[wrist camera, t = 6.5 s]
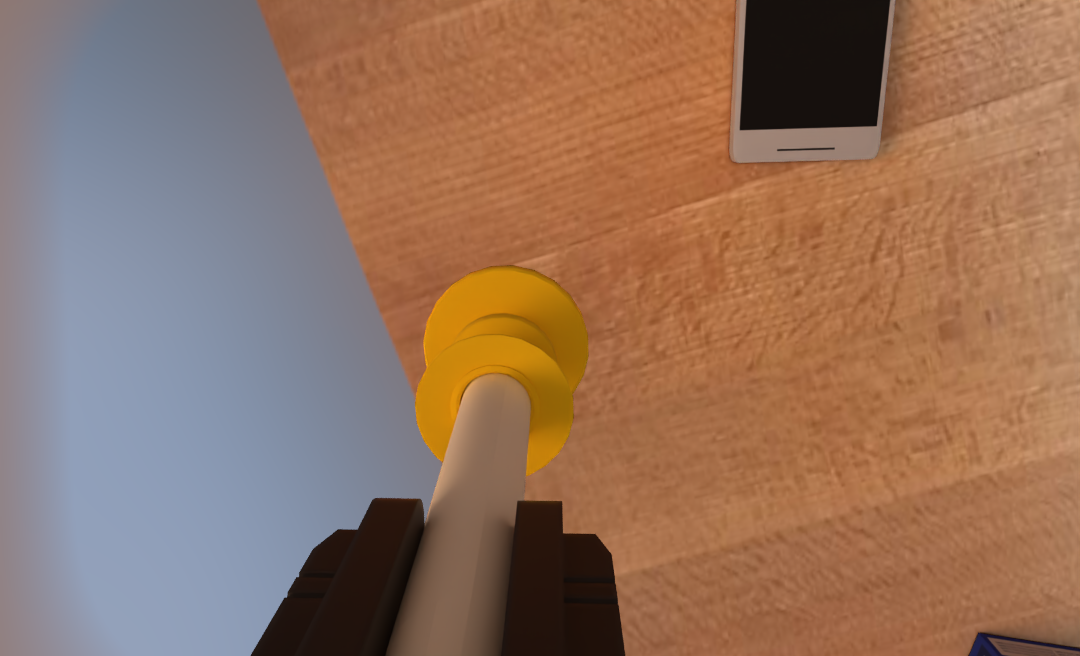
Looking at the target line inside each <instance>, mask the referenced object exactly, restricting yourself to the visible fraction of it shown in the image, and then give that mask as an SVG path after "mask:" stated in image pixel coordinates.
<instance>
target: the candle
mask: <svg viewBox="0 0 1080 656" xmlns="http://www.w3.org/2000/svg"><path fill="white" fill-rule="evenodd" d="M423 342H424V353H425V362H426V365H427V369H426V371H425V373H424V375H423V377H422V379H421V381H420V383H419V385H418V390H417V395H416V401H415V409H416V419H417V424H418V427H419V430H420V432H421V435H422V437H423V440H424V442H425V443H426V444H427V446H428V447H429V448H430V450H431V451H432V452H433V454H434V455H435V456H436V457H437V458H438V459H439V460H440V461H442V462H443V464H442V468H441V471H440V474H439V478H438V481H437V485H436V488H435V491H434V495H433V498H432V501H431V504H430V508H429V511H428V514H427V518H426V521H425V524H424V526H425V527H424V531H423V534H422V537H421V540H420V544H419V547H418V550H417V553H416V556H415V560H414V563H413V566H412V569H411V572H410V576H409V579H408V582H407V585H406V589H405V592H404V595H403V598H402V601H401V605H400V608H399V611H398V614H397V618H396V621H395V624H394V627H393V631H392V634H391V637H390V641H389V644H388V647H387V651H386V655H385V656H501V651H502V642H503V632H504V623H505V613H506V604H507V594H508V585H509V575H510V566H511V556H512V546H513V537H514V527H515V518H516V508H517V501H524V494H525V481H526V476H529V475H530V474H532V473H534V472H536V471H537V470H539V469H541V468H543V467H544V466H546V465H547V464H548V463H549V462H550V461H551V460H552V459H553V458H554V457H555V456H556V455H557V454H558V453H559V452H560V450H561V449H562V447H563V445H564V443H565V442H566V440H567V438H568V437H569V434H570V430H571V426H572V422H573V418H574V413H573V395H572V394H573V393H574V391H575V390H576V388H577V386H578V384H579V383H580V381H581V379H582V377H583V375H584V372H585V368H586V364H587V360H588V333H587V330H586V326H585V323H584V320H583V317H582V313H581V311H580V310H579V308H578V307H577V305H576V303H575V302H574V300H573V299H572V297H571V296H570V294H569V293H568V292H566V291H565V290H564V289H563V288H562V287H561V286H560V285H559V284H558V283H557V282H555V281H554V280H553V279H551V278H549V277H547V276H545V275H543V274H541V273H539V272H537V271H535V270H532V269H527V268H523V267H518V266H514V265H510V266H490V267H487V268H484V269H481V270H477V271H474V272H471V273H469V274H468V275H466V276H464V277H463V278H461V279H460V280H458V281H457V282H455V283H453V284H452V285H451V286H450V287H449V288H448V290H447V291H446V292H445V293H444V294H443V295H442V296H441V297H440V298H439V300H438V301H437V302H436V304H435V307H434V309H433V311H432V313H431V315H430V317H429V319H428V321H427V325H426V331H425V336H424V341H423Z"/></svg>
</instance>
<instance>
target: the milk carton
mask: <svg viewBox="0 0 1080 656" xmlns="http://www.w3.org/2000/svg"><path fill="white" fill-rule="evenodd" d="M969 656H1080V649H1078V648H1072V647H1065V646H1059V645H1053V644H1046V643H1040V642H1033V641H1027V640H1020V639H1014V638H1007V637H1001V636H995V635H988V634H982V633H978V635H977V638H976V640H975V642H974V645H973V647H972V650H971V652H970V654H969Z"/></svg>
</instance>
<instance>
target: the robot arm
mask: <svg viewBox="0 0 1080 656" xmlns="http://www.w3.org/2000/svg"><path fill="white" fill-rule="evenodd" d="M424 527H425V526H424V509H423V503H422V500H421V499H401V498H397V499H396V498H375V499H373V500H372V502H371V504H370V506H369V508H368V510H367V512H366V514H365V516H364V518H363V520H362V522H361V524H360V526H359V528H358V530H342V529H338V530H337V531H335V532H334V533H333V534H332V535H330V536H329V537H328V538H327V539H325V540H324V541H323V542H321V544H319V545H318V546H316V547H315V548H314V549H313V550H312V552H311V554H310V555H309V557H308V559H307V560H306V562H305V564H304V565H303V567H302V569H301V571H300V572H299V577H296V579H295V581H294V583H293V584H292V586H291V588H290V589H289V591H288V596H287V598H284V600H283V601H282V603H281V605H280V606H279V608H278V610H277V611H276V613H275V615H274V617H273V618H272V620H271V622H270V623H269V625H268V627H267V629H266V630H265V632H264V634H263V635H262V637H261V639H260V640H259V642H258V644H257V646H256V647H255V649H254V651H253V652H252V654H251V656H385V655H386V651H387V647H388V644H389V641H390V637H391V634H392V631H393V627H394V624H395V621H396V618H397V614H398V611H399V608H400V605H401V601H402V598H403V595H404V592H405V589H406V585H407V582H408V579H409V576H410V572H411V569H412V566H413V563H414V560H415V556H416V553H417V550H418V547H419V544H420V540H421V537H422V534H423V531H424ZM501 656H625V650H624V643H623V635H622V628H621V621H620V613H619V606H618V598H617V591H616V584H615V576H614V569H613V561H612V555H611V553H610V552H609V551H608V549H607V548H606V547H605V546H604V544H603V543H602V542H601V541H600V539H599V538H598V537H597V535H596V534H565V533H563V518H562V501H517V508H516V518H515V527H514V537H513V546H512V556H511V566H510V575H509V585H508V594H507V604H506V613H505V623H504V632H503V642H502V651H501Z"/></svg>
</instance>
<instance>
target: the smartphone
mask: <svg viewBox="0 0 1080 656" xmlns="http://www.w3.org/2000/svg"><path fill="white" fill-rule="evenodd" d="M895 1H896V0H736V21H735V42H734V62H733V83H732V103H731V124H730V145H729V153H730V158H731V160H732V161H733V162H736V163H751V162H786V161H822V160H857V159H873V158H875V156H876V155H877V153H878V151H879V146H880V139H881V130H882V121H883V111H884V102H885V93H886V84H887V75H888V66H889V56H890V47H891V38H892V29H893V20H894V11H895Z"/></svg>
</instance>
